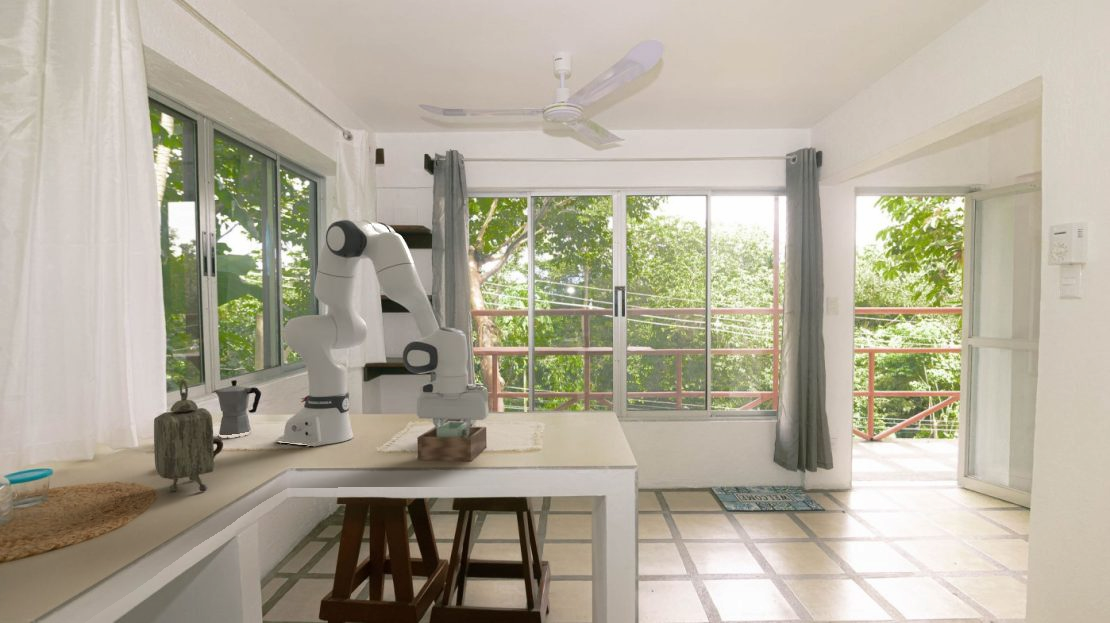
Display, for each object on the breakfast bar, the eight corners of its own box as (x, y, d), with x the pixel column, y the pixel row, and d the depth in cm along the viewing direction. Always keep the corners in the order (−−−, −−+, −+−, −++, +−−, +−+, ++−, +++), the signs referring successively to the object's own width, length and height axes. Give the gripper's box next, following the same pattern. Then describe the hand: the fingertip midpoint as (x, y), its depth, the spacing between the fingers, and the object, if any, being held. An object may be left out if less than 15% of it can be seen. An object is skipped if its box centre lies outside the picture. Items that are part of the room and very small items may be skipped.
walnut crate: (417, 459, 143) (417, 437, 143) (437, 445, 157) (437, 425, 157) (471, 461, 140) (470, 439, 140) (486, 447, 154) (486, 426, 154)
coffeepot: (205, 439, 168) (204, 382, 168) (225, 431, 177) (223, 378, 177) (252, 439, 167) (251, 382, 167) (270, 431, 177) (268, 378, 176)
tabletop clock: (214, 491, 120) (212, 381, 119) (165, 502, 113) (162, 386, 113) (200, 477, 130) (198, 375, 130) (154, 486, 124) (152, 379, 123)
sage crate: (436, 446, 144) (436, 428, 144) (448, 438, 153) (448, 421, 153) (457, 447, 143) (457, 429, 143) (468, 439, 152) (468, 421, 152)
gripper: (491, 384, 149) (492, 432, 150) (423, 383, 153) (423, 431, 153) (484, 387, 143) (485, 438, 143) (413, 386, 147) (414, 436, 147)
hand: (453, 434), depth 148 cm, fingers closed on sage crate, 6 cm apart
